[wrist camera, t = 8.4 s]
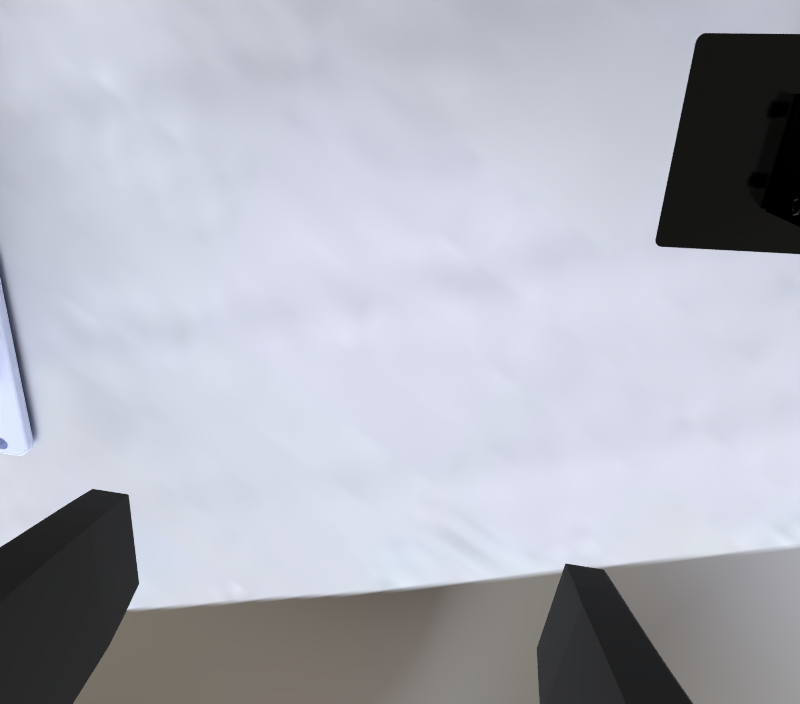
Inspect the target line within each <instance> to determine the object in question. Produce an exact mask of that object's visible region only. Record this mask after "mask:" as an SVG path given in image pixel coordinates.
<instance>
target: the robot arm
mask: <svg viewBox="0 0 800 704" xmlns="http://www.w3.org/2000/svg"><path fill="white" fill-rule="evenodd" d="M3 439H4V440H3ZM32 447H33V438H32V433H31V428H30V423H29V418H28V413H27V408H26V403H25V398H24V393H23V388H22V383H21V378H20V373H19V368H18V364H17V359H16V354H15V349H14V344H13V339H12V334H11V329H10V324H9V319H8V314H7V309H6V304H5V299H4V294H3V289H2V284H1V279H0V453H4V454H10V455H17V456H22V455H24V454H26V453H27V452H28V451H30V450H31V449H32ZM138 585H139V580H138V571H137V563H136V554H135V546H134V537H133V529H132V520H131V512H130V504H129V495H127V494H121V493H115V492H108V491H102V490H96V489H92V490H90V491H89V492H87V493H85V494H84V495H82V496H80V497H79V498H77V499H75V500H74V501H72V502H71V503H69V504H67V505H66V506H64V507H63V508H61V509H59V510H58V511H56V512H55V513H53V514H52V515H50V516H49V517H47V518H45V519H44V520H42V521H41V522H39V523H38V524H36V525H35V526H33V527H31V528H30V529H28V530H27V531H25V532H24V533H22V534H21V535H19V536H17V537H16V538H14V539H13V540H11V541H10V542H8V543H6V544H5V545H3V546H2V547H0V704H73V702H74V701H75V699H76V697H77V696H78V694H79V693H80V691H81V690H82V688H83V687H84V685H85V683H86V682H87V680H88V678H89V677H90V675H91V673H92V672H93V671H94V669H95V667H96V666H97V664H98V663H99V661H100V659H101V658H102V656H103V654H104V653H105V651H106V649H107V648H108V646H109V645H110V643H111V641H112V638H113V636H114V634H115V633H116V631H117V629H118V626H119V625H120V623H121V621H122V619H123V616H124V614H125V612H126V610H127V608H128V606H129V604H130V602H131V600H132V597H133V595H134V593H135V591H136V589H137V587H138ZM537 658H538V680H539V697H540V704H693V703H692V702H691V700H690V699H689V697H688V696H687V694H686V693H685V691H684V690H683V689H682V687H681V686H680V684H679V683H678V681H677V680H676V679H675V677H674V676H673V674H672V673H671V671H670V670H669V668H668V667H667V665H666V664H665V662H664V661H663V659H662V658H661V656H660V655H659V653H658V652H657V650H656V649H655V648H654V646H653V644H652V643H651V641H650V640H649V638H648V637H647V635H646V634H645V632H644V631H643V629H642V628H641V626H640V625H639V623H638V621H637V620H636V618H635V617H634V615H633V614H632V612H631V611H630V609H629V607H628V606H627V604H626V603H625V601H624V600H623V598H622V597H621V595H620V594H619V592H618V590H617V589H616V587H615V586H614V584H613V583H612V581H611V580H610V578H609V577H608V575H607V574H606V572H605V571H604V570H602V569H596V568H590V567H583V566H577V565H571V564H565V567H564V570H563V573H562V576H561V579H560V582H559V585H558V587H557V590H556V593H555V596H554V600H553V602H552V605H551V608H550V611H549V614H548V617H547V620H546V623H545V626H544V629H543V632H542V635H541V638H540V641H539V644H538V647H537Z"/></svg>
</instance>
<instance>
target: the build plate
mask: <svg viewBox="0 0 800 704" xmlns="http://www.w3.org/2000/svg"><path fill="white" fill-rule="evenodd" d="M656 244H657V245H658V246H661V247H678V248H697V249H715V250H734V251H753V252H772V253H791V254H800V34H727V33H704V34H702V35H700V36H699V37H698V39H697V41H696V44H695V49H694V54H693V59H692V64H691V69H690V74H689V78H688V83H687V88H686V93H685V98H684V103H683V108H682V113H681V118H680V123H679V128H678V132H677V137H676V142H675V147H674V152H673V157H672V162H671V167H670V172H669V177H668V181H667V186H666V191H665V196H664V201H663V206H662V211H661V216H660V221H659V226H658V230H657V235H656Z"/></svg>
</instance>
